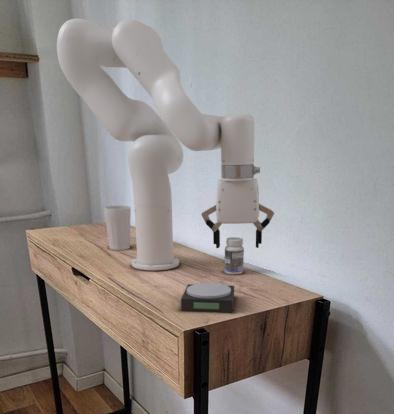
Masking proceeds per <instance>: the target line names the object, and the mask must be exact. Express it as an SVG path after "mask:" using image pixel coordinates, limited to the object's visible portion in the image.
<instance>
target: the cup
mask: <svg viewBox="0 0 394 414" xmlns="http://www.w3.org/2000/svg"><path fill="white" fill-rule="evenodd" d="M131 212H132V207H131V206H130V205H122V204H121V205H120V204H119V205H107V206H104V207H103V213H104V219H105V225H106V226H105V227H106V232H107V233H106V234H107V238H108V246H109V247H108V248H109V250H114V251H124V250H129V249H131Z"/></svg>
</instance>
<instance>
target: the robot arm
mask: <svg viewBox="0 0 394 414" xmlns="http://www.w3.org/2000/svg"><path fill="white" fill-rule="evenodd" d="M160 36H161V35H159V33H158V32H157V30H155V28H153V27H151V26H149V25H147V24H145V23H143V22H141V21H139V20H135V19H123V20H121V21H120V22H118V23H117V24H116V26H114V27H112V26H111V27H110V26H105V25H103V24H100V23H97V22H94V21H92V20H89V19H85V18H81V17H80V18H71V19H67V20H66V21H65V22H63V24H62V25H61V26H60V28H59V31H58V33H57V38H56V54H57V60H58V64H59V67H60V69H61V72H62V73H63V75H64V78H65V79H66V80H67V82H68V83H69V85H70V86H71V87H72V88H73V89H74V91H75V92H76V93H77V95H79V97H80V98H81V99H82V100H83V102H84V103H85V104H86V105H87V106H88V108H89V110H90V111H91V112H92V113H93V115H94V116H95V117H96V118H97V120H98V121H99V122H100V123H101V124H102V127H104V128H105V130H106V132H108V133H109V135H110V136H111V137H112V138H113V139H115V140H117V141H119V142H132V144H131V146H129V150H128V156H127V161H128V167H129V173H130V177H131V183H132V192H133V193H132V194H133V206H134V207H133V209H134V225H135V226H134V227H135V245H136V257H135V258H133V259H132V260H131V267H133V268H134V269H136V270H141V271H167V270H172V269H174V268H177V267H179V265H180V260H179V258H178V257H174V231H173V230H174V229H173V197H172V187H171V182H170V177H169V175H170V174H173V173H176V172H177V171H178V170H179V169H180V167H181V166H182V165H183V162H184V149H183V147H182V145H183V146H184V148H187V149H188V150H190V151H193V152H203V151H204V152H205V151H213V150H214V151H215V150H218V149H219V150H220V168H221V169H220V171H221V173H220V174H221V176H220V177H221V179H218V180H217V188H216V201H215V202H216V204H214V205H213V206H211V207H209V208H207V209H205V210H203V211H202V212H201V214H200V215H201V217H202V219H203V221H204V222H205V225H206V226H207V227H208V228H209V229H210V230H211V231H212V233H213V235H212V236H213V237H212V238H213V241H212V242H213V245H215V248H216V249H219V248H220V247H221V232H220V231H221V230H220V227H221V225H222V224H223V225H224V224H225V225H233V224H234V225H235V224H236V225H238V224H242V225H243V224H252V225H254V227H255V228H256V230H255V248H257V249H259V247H260V245H262V244H263V243H262V240H263V231H264V229H265V228H266V227H267V226H268V225H269V224H270V223H271V220H272V219H273V217H274V215H275V211H274V210H273V211H274V212H273V211H272V209H271V208H269V207H268V206H267V207H266V206H265V205H263V204H261V203H260V194H259V193H260V192H259V191H260V190H259V183H258V179H257V178H255V177H254V176H255V175H257V174H261V167H257V166H256V165H254V164H255V118H254V116H253V115H251V114H250V113H232V114H231V113H230V114H225V115H223V116H221V115H220V116H219V115H213V114H203V113H202V112H201V111H200V110H199V109H198V107H197V106H196V105H195V104H194V102H193V101H192V100H191V99H190V98H189V96H188V95H187V93H186V91H184V88H183V87H182V83H181V71H180V70H179V68H178V66H177V65H176V64H175V62H174V61H173V60H172V59H171V58H170V56H168V54H167V53H166V51H164V48H163V47H164V46H163V41H162V38H161V37H160ZM102 67H104V68H123V69H124V68H125V69H128V71H129V72H130V73H131V74H132V76H133V77H134V78H135V79H136V80H137V82H138V83H139V84H140V85H141V86H142V88H143V89H144V90H145V91H146V92H147V94H148V95H149V96H150V98H151V99H152V102H153V105H154V107H155V109H156V111H155V109H153V108H152V106H150V105H149V104H148V103H146V102H145V101H142V100H139V99H133V98H130V97H128V96H127V95H126V94H125V93H124V91H123V90H122V89H121V88H120V87H119V86H118V85H117V84H116V82H115V80H114V79H113V78H112V77H111V75H109V74H108V72H106V70H104V69H103V68H102ZM260 212H262V213H264V214H266V217H265V218H264V220H262V222H261V221H260V220H259V217H260ZM213 213H215V217H216V222H215V223H214V222H213V221H212V220H211V218H210V215H211V214H213Z"/></svg>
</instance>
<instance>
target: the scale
mask: <svg viewBox="0 0 394 414" xmlns="http://www.w3.org/2000/svg"><path fill="white" fill-rule="evenodd" d="M234 300H235V285H227V284H226V285H225V284H223V283H216V282H200V283H194V284H192V283H191V284H190V283H189V284H187V285H186V288H185V290H184V291H183V294H182V295H181V298H180V309H181V311H182V312H206V313H207V312H208V313H211V312H212V313H233V309H234V308H233V307H234Z"/></svg>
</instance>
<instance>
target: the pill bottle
mask: <svg viewBox="0 0 394 414" xmlns="http://www.w3.org/2000/svg"><path fill="white" fill-rule="evenodd" d="M225 243H226V246H225V247H224V267H223V269H224V273H225V274H227V275H241V274H242V273H243V272H244V260H245V259H244V257H245V248H244V246H243V245H244V239H243V238H242V237H235V236H233V237H227V238H226V242H225Z"/></svg>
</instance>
